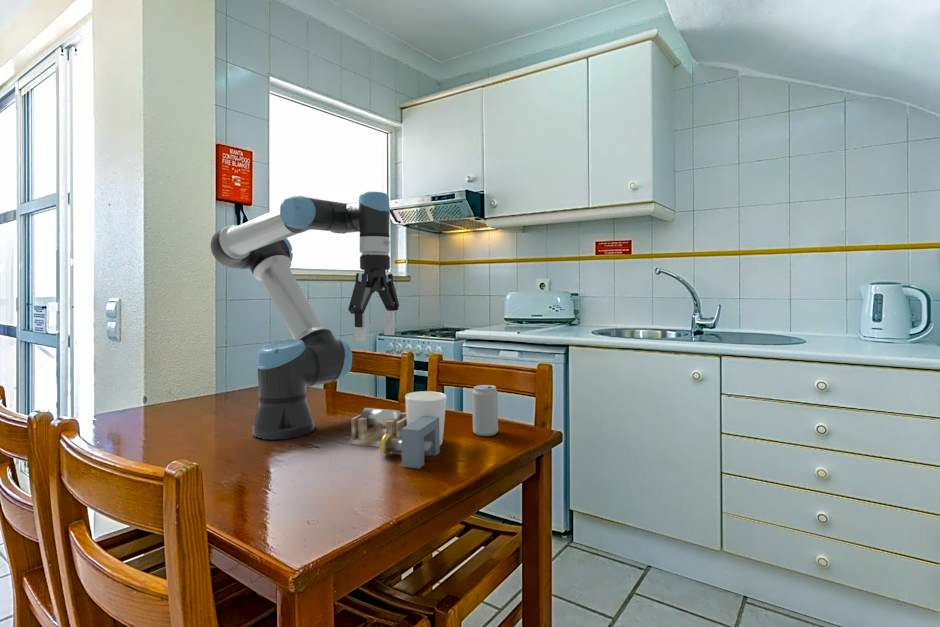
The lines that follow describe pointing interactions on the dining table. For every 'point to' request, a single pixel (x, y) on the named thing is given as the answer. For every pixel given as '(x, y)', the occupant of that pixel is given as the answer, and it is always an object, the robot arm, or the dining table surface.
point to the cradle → (374, 431)
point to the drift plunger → (399, 445)
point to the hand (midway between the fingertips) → (375, 337)
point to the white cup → (426, 407)
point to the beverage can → (485, 410)
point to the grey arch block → (419, 440)
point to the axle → (380, 417)
